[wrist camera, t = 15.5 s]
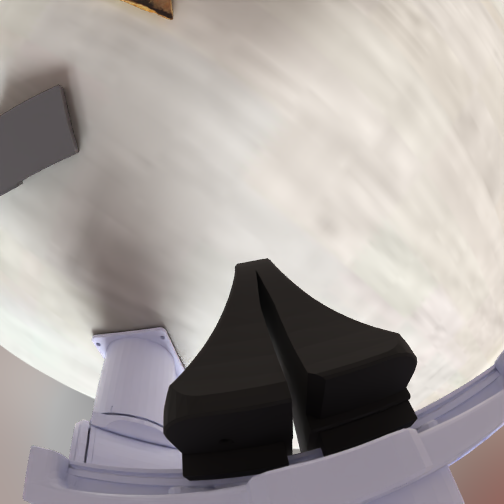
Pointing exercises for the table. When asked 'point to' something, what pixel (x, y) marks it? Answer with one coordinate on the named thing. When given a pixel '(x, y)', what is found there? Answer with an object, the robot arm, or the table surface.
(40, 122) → the domino
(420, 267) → the table surface
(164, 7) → the shard
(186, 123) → the table surface
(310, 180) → the table surface
